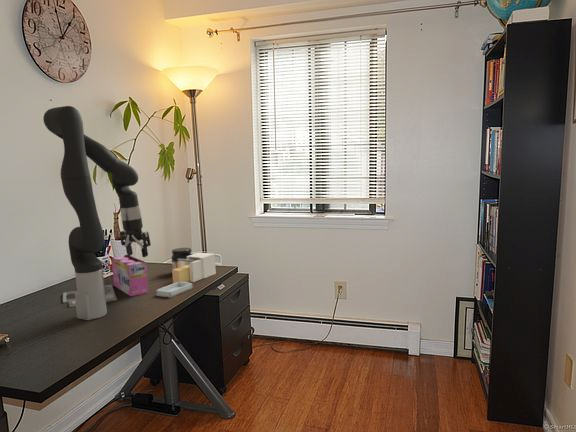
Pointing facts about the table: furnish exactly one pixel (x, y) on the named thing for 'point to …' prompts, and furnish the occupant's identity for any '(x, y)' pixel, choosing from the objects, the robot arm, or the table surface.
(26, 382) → the table surface
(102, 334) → the table surface
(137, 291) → the gum box
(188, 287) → the dish
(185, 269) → the yellow rectangular block
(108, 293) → the office telephone
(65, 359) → the table surface
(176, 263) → the supplement container
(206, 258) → the dispenser
